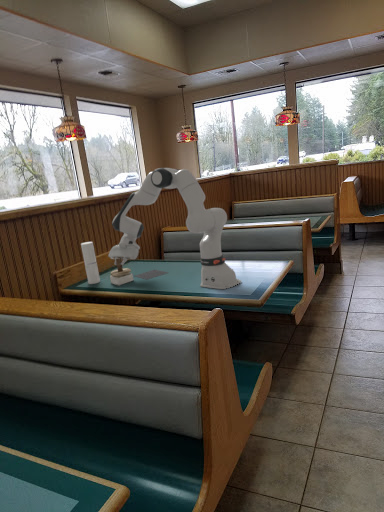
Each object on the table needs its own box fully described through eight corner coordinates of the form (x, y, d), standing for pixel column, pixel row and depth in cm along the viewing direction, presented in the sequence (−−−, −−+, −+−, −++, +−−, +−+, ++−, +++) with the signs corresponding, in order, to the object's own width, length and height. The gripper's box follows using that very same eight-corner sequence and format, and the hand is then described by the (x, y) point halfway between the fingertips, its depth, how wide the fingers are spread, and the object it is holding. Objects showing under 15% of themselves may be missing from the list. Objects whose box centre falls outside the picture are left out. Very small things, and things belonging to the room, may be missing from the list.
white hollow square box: (133, 280, 228) (132, 273, 227) (118, 285, 222) (117, 278, 221) (125, 278, 236) (124, 271, 235) (111, 283, 230) (109, 275, 229)
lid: (134, 271, 227) (132, 256, 225) (116, 276, 220) (113, 261, 218) (124, 269, 236) (122, 255, 234) (107, 274, 229) (104, 259, 227)
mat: (168, 273, 235) (168, 272, 235) (146, 280, 226) (146, 279, 225) (154, 270, 247) (154, 269, 247) (133, 276, 238) (133, 276, 238)
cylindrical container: (98, 283, 234) (90, 243, 228) (87, 284, 234) (79, 244, 228) (101, 279, 240) (94, 241, 235) (90, 281, 241) (82, 242, 235)
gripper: (110, 242, 235) (102, 261, 229) (136, 241, 224) (128, 262, 218) (117, 247, 240) (109, 267, 234) (142, 247, 229) (134, 267, 223)
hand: (118, 264), depth 226 cm, fingers closed on lid, 3 cm apart
